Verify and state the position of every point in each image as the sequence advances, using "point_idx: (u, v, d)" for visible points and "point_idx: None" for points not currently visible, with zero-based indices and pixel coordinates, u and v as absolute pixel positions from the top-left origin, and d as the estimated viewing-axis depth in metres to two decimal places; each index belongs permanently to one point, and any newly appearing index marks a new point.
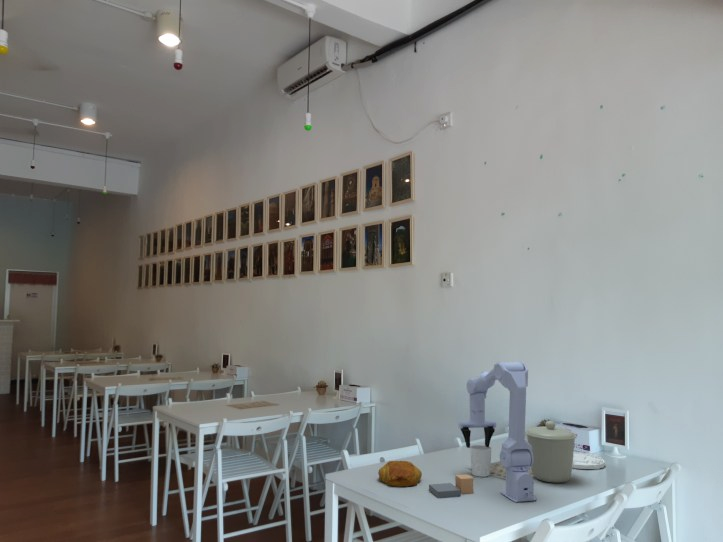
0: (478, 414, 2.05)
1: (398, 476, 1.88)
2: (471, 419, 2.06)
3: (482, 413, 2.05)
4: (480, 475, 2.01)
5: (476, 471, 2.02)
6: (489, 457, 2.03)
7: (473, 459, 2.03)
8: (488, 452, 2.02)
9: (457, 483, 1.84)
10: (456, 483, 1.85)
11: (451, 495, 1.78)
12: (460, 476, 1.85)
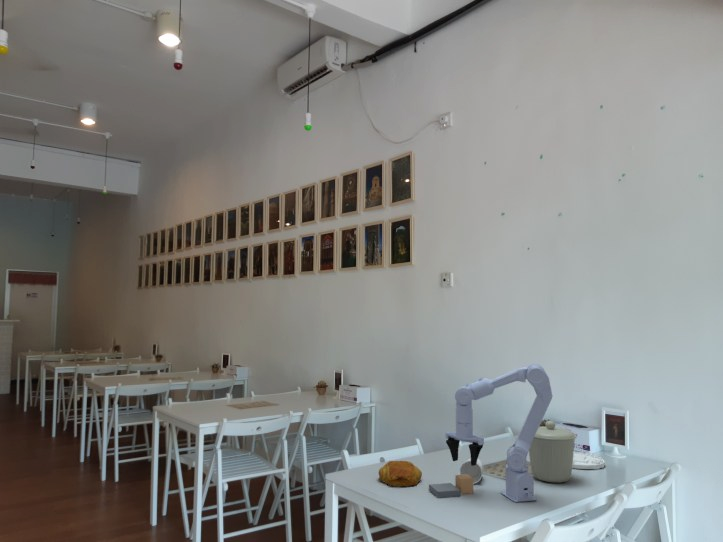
0: (457, 425, 1.85)
1: (398, 476, 1.88)
2: None
3: (462, 425, 1.84)
4: None
5: None
6: (482, 470, 1.95)
7: None
8: (482, 473, 1.93)
9: (457, 483, 1.84)
10: (456, 483, 1.85)
11: (451, 495, 1.78)
12: (460, 476, 1.85)
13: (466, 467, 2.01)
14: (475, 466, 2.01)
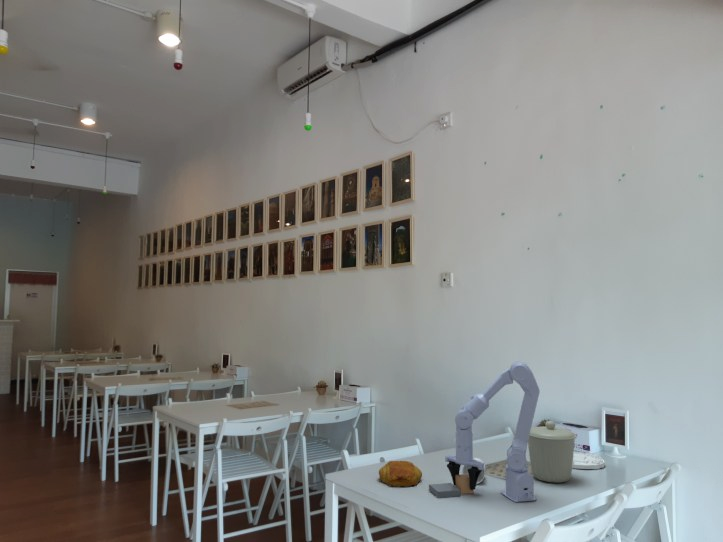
0: (457, 450, 1.84)
1: (398, 476, 1.88)
2: None
3: (462, 449, 1.83)
4: None
5: None
6: None
7: None
8: None
9: (457, 483, 1.84)
10: (456, 483, 1.85)
11: (451, 495, 1.78)
12: (460, 476, 1.85)
13: (468, 466, 2.01)
14: None
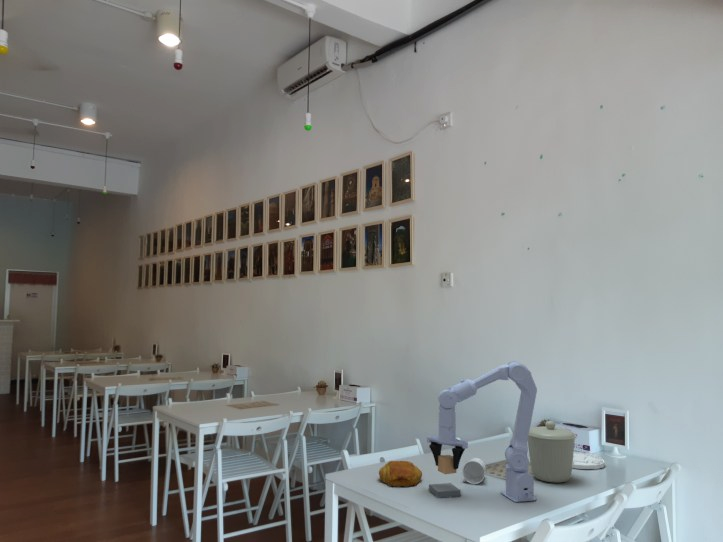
0: (441, 429, 1.82)
1: (398, 476, 1.88)
2: None
3: (446, 429, 1.81)
4: None
5: None
6: None
7: None
8: None
9: (440, 464, 1.83)
10: (439, 463, 1.84)
11: (451, 495, 1.78)
12: (443, 456, 1.83)
13: (468, 466, 2.01)
14: (477, 467, 2.01)
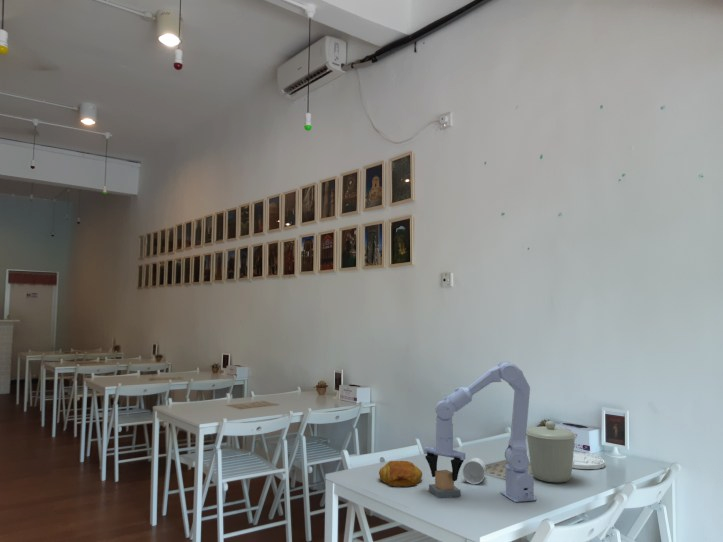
0: (439, 441, 1.82)
1: (399, 476, 1.88)
2: None
3: (443, 440, 1.81)
4: None
5: None
6: None
7: None
8: None
9: (438, 479, 1.82)
10: (436, 479, 1.83)
11: (451, 495, 1.78)
12: (441, 471, 1.83)
13: (468, 466, 2.01)
14: (477, 467, 2.01)
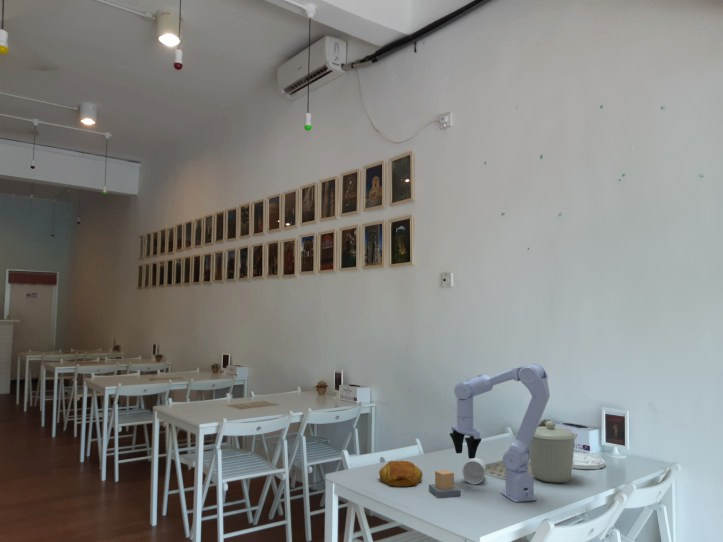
0: (457, 419, 1.92)
1: (399, 476, 1.88)
2: None
3: (460, 419, 1.90)
4: None
5: None
6: None
7: None
8: None
9: (438, 479, 1.82)
10: (436, 479, 1.83)
11: (451, 495, 1.78)
12: (441, 471, 1.83)
13: (468, 466, 2.01)
14: (477, 467, 2.01)
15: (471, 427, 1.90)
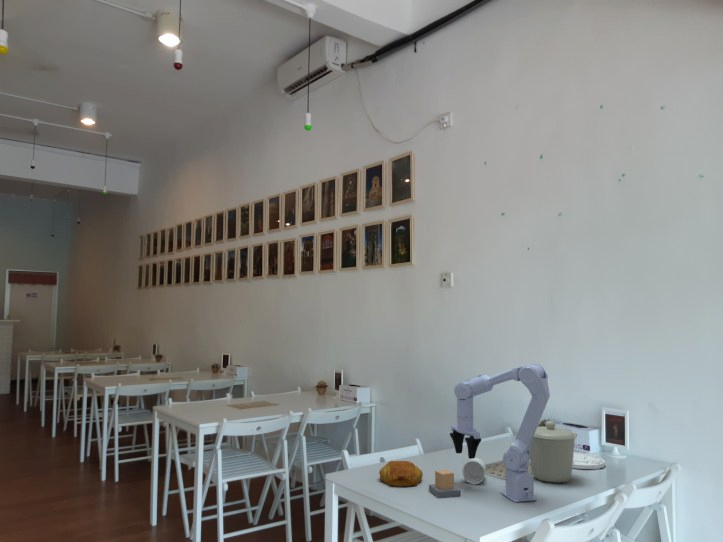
0: (457, 419, 1.92)
1: (399, 476, 1.88)
2: None
3: (460, 419, 1.90)
4: None
5: None
6: None
7: None
8: None
9: (438, 479, 1.82)
10: (436, 479, 1.83)
11: (451, 495, 1.78)
12: (441, 471, 1.83)
13: (468, 466, 2.01)
14: (477, 467, 2.01)
15: (471, 427, 1.90)
